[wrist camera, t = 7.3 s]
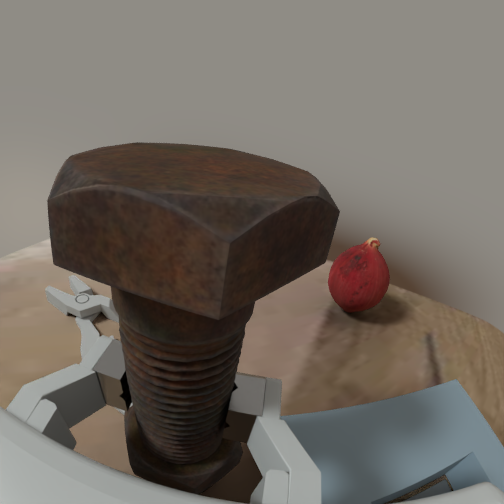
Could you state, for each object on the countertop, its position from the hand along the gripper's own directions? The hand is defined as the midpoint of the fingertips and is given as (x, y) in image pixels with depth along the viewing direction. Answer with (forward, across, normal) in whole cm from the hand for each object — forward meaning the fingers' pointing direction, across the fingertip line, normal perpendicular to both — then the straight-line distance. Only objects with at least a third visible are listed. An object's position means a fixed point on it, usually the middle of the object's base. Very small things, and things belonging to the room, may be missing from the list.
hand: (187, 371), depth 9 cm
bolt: (-1, 0, -8) cm, 8 cm away
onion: (+18, +11, -8) cm, 23 cm away
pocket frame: (-5, +14, -8) cm, 17 cm away
